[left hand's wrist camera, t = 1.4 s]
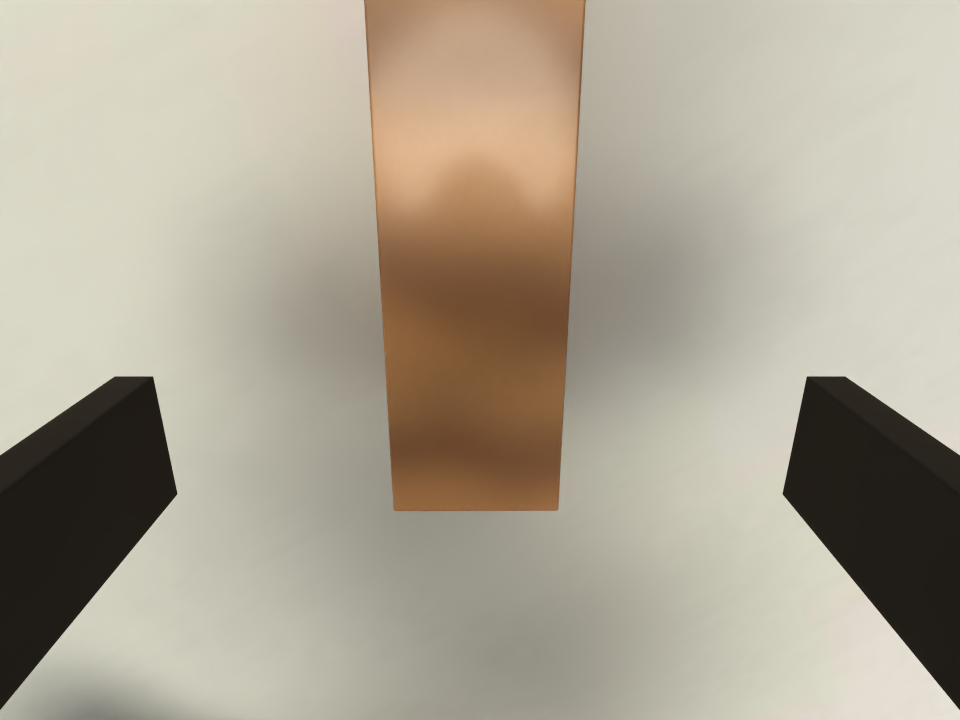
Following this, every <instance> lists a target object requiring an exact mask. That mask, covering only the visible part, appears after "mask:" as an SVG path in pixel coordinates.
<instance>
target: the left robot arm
mask: <svg viewBox="0 0 960 720" xmlns="http://www.w3.org/2000/svg"><path fill="white" fill-rule="evenodd" d="M176 495H177V490H176V485H175V480H174V476H173V471H172V466H171V461H170V456H169V451H168V447H167V442H166V437H165V432H164V427H163V422H162V418H161V413H160V408H159V403H158V398H157V393H156V389H155V384H154V379H153V377H114V378H112V379H111V380H109V381H108V382H106V383H105V384H103V385H102V386H100V387H99V388H98V389H96V390H95V391H93V392H92V393H90V394H89V395H87V396H86V397H84V398H83V399H82V400H80V401H79V402H77V403H76V404H74V405H73V406H71V407H70V408H68V409H67V410H66V411H64V412H63V413H61V414H60V415H58V416H57V417H55V418H54V419H52V420H51V421H50V422H48V423H47V424H45V425H44V426H42V427H41V428H39V429H38V430H36V431H35V432H34V433H32V434H31V435H29V436H28V437H26V438H25V439H23V440H22V441H21V442H19V443H18V444H16V445H15V446H13V447H12V448H10V449H9V450H7V451H6V452H5V453H3V454H2V455H0V709H1V708H2V707H3V706H4V705H5V703H6V702H7V701H8V700H9V699H10V697H11V696H12V695H13V694H14V692H15V691H16V690H17V689H18V688H19V686H20V685H21V684H22V683H23V681H24V680H25V679H26V678H27V677H28V675H29V674H30V673H31V672H32V671H33V669H34V668H35V667H36V666H37V664H38V663H39V662H40V661H41V660H42V658H43V657H44V656H45V655H46V653H47V652H48V651H49V650H50V649H51V647H52V646H53V645H54V644H55V642H56V641H57V640H58V639H59V638H60V636H61V635H62V634H63V633H64V632H65V630H66V629H67V628H68V627H69V625H70V624H71V623H72V622H73V621H74V619H75V618H76V617H77V616H78V614H79V613H80V612H81V611H82V610H83V608H84V607H85V606H86V605H87V604H88V602H89V601H90V600H91V599H92V597H93V596H94V595H95V594H96V593H97V591H98V590H99V589H100V588H101V586H102V585H103V584H104V583H105V582H106V580H107V579H108V578H109V577H110V575H111V574H112V573H113V572H114V571H115V569H116V568H117V567H118V566H119V565H120V563H121V562H122V561H123V560H124V558H125V557H126V556H127V555H128V554H129V552H130V551H131V550H132V549H133V547H134V546H135V545H136V544H137V543H138V541H139V540H140V539H141V538H142V537H143V535H144V534H145V533H146V532H147V530H148V529H149V528H150V527H151V526H152V524H153V523H154V522H155V521H156V519H157V518H158V517H159V516H160V515H161V513H162V512H163V511H164V510H165V509H166V507H167V506H168V505H169V504H170V502H171V501H172V500H173V499H174V498H175V496H176ZM783 495H784V496H785V498H786V499H787V500H788V501H789V502H790V504H791V505H792V506H793V507H794V509H795V510H796V511H797V512H798V513H799V515H800V516H801V517H802V518H803V519H804V521H805V522H806V523H807V524H808V526H809V527H810V528H811V529H812V530H813V532H814V533H815V534H816V535H817V537H818V538H819V539H820V540H821V541H822V543H823V544H824V545H825V546H826V547H827V549H828V550H829V551H830V552H831V554H832V555H833V556H834V557H835V558H836V560H837V561H838V562H839V563H840V565H841V566H842V567H843V568H844V569H845V571H846V572H847V573H848V574H849V575H850V577H851V578H852V579H853V580H854V582H855V583H856V584H857V585H858V586H859V588H860V589H861V590H862V591H863V593H864V594H865V595H866V596H867V597H868V599H869V600H870V601H871V602H872V604H873V605H874V606H875V607H876V608H877V610H878V611H879V612H880V613H881V614H882V616H883V617H884V618H885V619H886V621H887V622H888V623H889V624H890V625H891V627H892V628H893V629H894V630H895V632H896V633H897V634H898V635H899V636H900V638H901V639H902V640H903V641H904V642H905V644H906V645H907V646H908V647H909V649H910V650H911V651H912V652H913V653H914V655H915V656H916V657H917V658H918V660H919V661H920V662H921V663H922V664H923V666H924V667H925V668H926V669H927V671H928V672H929V673H930V674H931V675H932V677H933V678H934V679H935V680H936V681H937V683H938V684H939V685H940V686H941V688H942V689H943V690H944V691H945V692H946V694H947V695H948V696H949V697H950V699H951V700H952V701H953V702H954V703H955V705H956V706H957V707H958V708H959V709H960V455H958V454H957V453H955V452H954V451H953V450H951V449H950V448H948V447H947V446H945V445H944V444H942V443H941V442H939V441H938V440H937V439H935V438H934V437H932V436H931V435H929V434H928V433H926V432H925V431H924V430H922V429H921V428H919V427H918V426H916V425H915V424H913V423H912V422H910V421H909V420H908V419H906V418H905V417H903V416H902V415H900V414H899V413H897V412H896V411H894V410H893V409H892V408H890V407H889V406H887V405H886V404H884V403H883V402H881V401H880V400H878V399H877V398H876V397H874V396H873V395H871V394H870V393H868V392H867V391H865V390H864V389H862V388H861V387H860V386H858V385H857V384H855V383H854V382H852V381H851V380H849V379H848V378H846V377H807V379H806V384H805V389H804V393H803V398H802V403H801V408H800V413H799V418H798V422H797V427H796V432H795V437H794V442H793V447H792V451H791V456H790V461H789V466H788V471H787V476H786V480H785V485H784V490H783Z"/></svg>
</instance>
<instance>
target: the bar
mask: <svg viewBox="0 0 960 720" xmlns="http://www.w3.org/2000/svg"><path fill="white" fill-rule="evenodd" d="M585 1H586V0H364V5H365V22H366V40H367V57H368V74H369V92H370V109H371V126H372V144H373V161H374V178H375V196H376V213H377V230H378V248H379V265H380V283H381V300H382V317H383V335H384V352H385V369H386V387H387V404H388V421H389V439H390V456H391V473H392V491H393V508H394V511H557V510H558V502H559V484H560V465H561V447H562V428H563V410H564V391H565V373H566V354H567V335H568V317H569V298H570V280H571V261H572V243H573V224H574V205H575V187H576V168H577V150H578V131H579V113H580V94H581V76H582V57H583V38H584V20H585Z"/></svg>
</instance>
